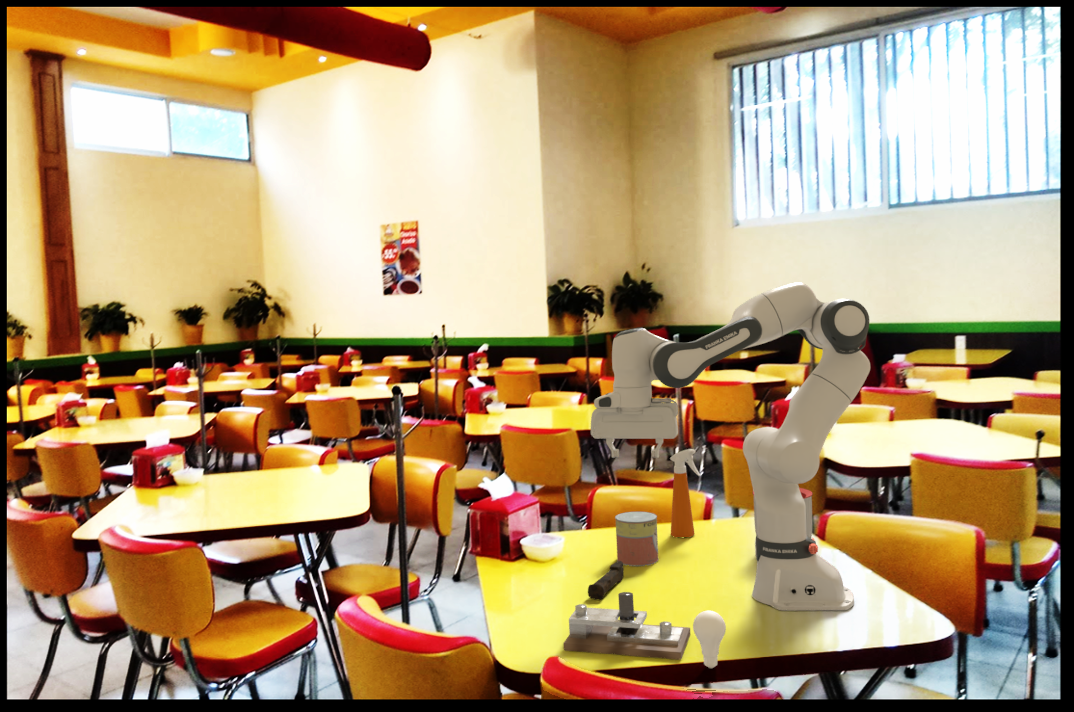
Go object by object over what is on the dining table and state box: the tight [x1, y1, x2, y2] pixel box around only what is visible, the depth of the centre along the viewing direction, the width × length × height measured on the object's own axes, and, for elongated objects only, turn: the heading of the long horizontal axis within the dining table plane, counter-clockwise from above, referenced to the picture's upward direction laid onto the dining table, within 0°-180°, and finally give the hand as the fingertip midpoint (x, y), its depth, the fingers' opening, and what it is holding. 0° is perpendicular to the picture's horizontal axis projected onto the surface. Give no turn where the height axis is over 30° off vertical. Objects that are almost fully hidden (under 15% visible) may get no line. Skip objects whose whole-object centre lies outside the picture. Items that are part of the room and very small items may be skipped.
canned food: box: [614, 511, 660, 567], centre depth 234 cm, size 11×11×12 cm
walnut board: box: [563, 623, 691, 661], centre depth 179 cm, size 24×13×2 cm, turn 72°
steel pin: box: [617, 591, 635, 635], centre depth 178 cm, size 3×3×8 cm
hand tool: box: [587, 560, 625, 601], centre depth 213 cm, size 19×4×5 cm, turn 152°
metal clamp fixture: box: [568, 603, 683, 646], centre depth 178 cm, size 22×7×6 cm, turn 72°
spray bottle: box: [669, 448, 701, 538], centre depth 254 cm, size 7×11×26 cm, turn 42°
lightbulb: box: [692, 610, 727, 669], centre depth 164 cm, size 6×6×11 cm
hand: (635, 457), depth 201 cm, fingers open, 8 cm apart
